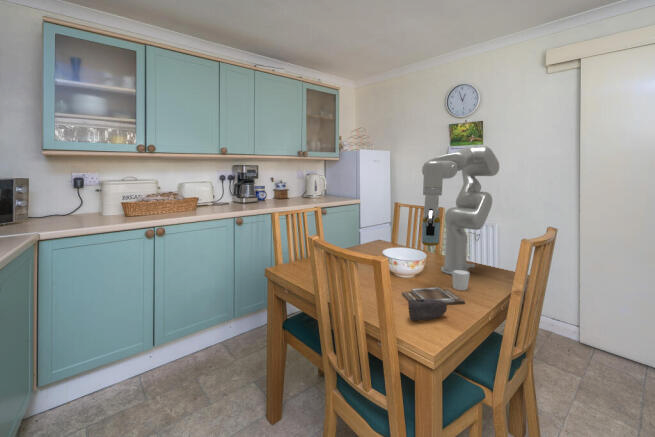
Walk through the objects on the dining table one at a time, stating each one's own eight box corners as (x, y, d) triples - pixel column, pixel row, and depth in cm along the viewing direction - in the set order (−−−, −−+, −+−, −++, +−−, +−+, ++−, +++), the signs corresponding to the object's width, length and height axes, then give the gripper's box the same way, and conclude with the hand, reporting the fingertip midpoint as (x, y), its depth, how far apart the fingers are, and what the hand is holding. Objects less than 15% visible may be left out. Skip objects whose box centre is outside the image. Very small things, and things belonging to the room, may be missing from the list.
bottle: (426, 246, 129) (428, 210, 127) (418, 242, 136) (420, 208, 134) (442, 245, 131) (443, 210, 128) (433, 241, 138) (434, 207, 135)
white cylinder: (472, 289, 131) (473, 273, 130) (458, 291, 129) (460, 275, 128) (461, 284, 137) (462, 268, 136) (447, 285, 135) (448, 270, 134)
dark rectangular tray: (448, 291, 129) (448, 286, 129) (464, 303, 117) (465, 298, 117) (401, 294, 126) (402, 289, 126) (414, 307, 115) (414, 302, 114)
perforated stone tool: (442, 312, 110) (443, 294, 109) (450, 319, 105) (452, 300, 104) (402, 317, 107) (403, 297, 106) (409, 324, 102) (410, 304, 101)
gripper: (424, 189, 139) (423, 229, 142) (421, 193, 123) (419, 237, 126) (442, 190, 136) (440, 230, 139) (441, 193, 121) (439, 238, 124)
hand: (430, 233), depth 133 cm, fingers closed on bottle, 6 cm apart
